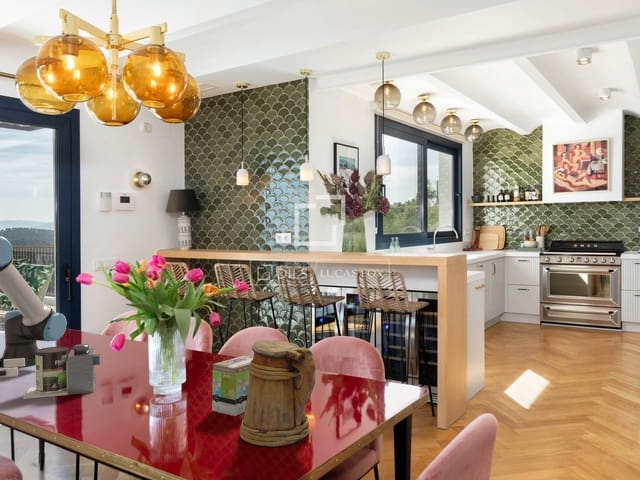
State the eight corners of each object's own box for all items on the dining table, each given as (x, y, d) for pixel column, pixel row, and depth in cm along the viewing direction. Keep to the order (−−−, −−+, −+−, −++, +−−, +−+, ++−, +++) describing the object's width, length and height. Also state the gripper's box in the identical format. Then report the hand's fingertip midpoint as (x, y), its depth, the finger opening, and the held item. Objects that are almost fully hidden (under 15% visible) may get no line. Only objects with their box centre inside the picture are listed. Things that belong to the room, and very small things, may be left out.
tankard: (270, 418, 158) (269, 334, 158) (336, 435, 145) (335, 342, 145) (226, 438, 144) (225, 344, 143) (295, 458, 130) (294, 355, 130)
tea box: (236, 417, 160) (236, 367, 160) (211, 411, 165) (211, 363, 165) (267, 403, 173) (267, 357, 172) (243, 398, 178) (242, 354, 178)
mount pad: (30, 389, 191) (30, 387, 191) (71, 385, 195) (71, 383, 195) (23, 399, 179) (23, 397, 179) (67, 394, 184) (67, 392, 184)
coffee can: (74, 386, 192) (74, 346, 191) (55, 394, 182) (54, 353, 181) (49, 384, 194) (48, 345, 194) (28, 393, 184) (27, 352, 183)
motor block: (70, 385, 195) (69, 343, 195) (101, 382, 198) (100, 341, 198) (66, 394, 184) (65, 349, 183) (99, 391, 187) (98, 347, 187)
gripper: (-41, 373, 189) (27, 368, 196) (-64, 394, 166) (14, 387, 173) (-41, 352, 189) (27, 348, 196) (-64, 369, 166) (14, 364, 173)
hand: (21, 366), depth 185 cm, fingers open, 13 cm apart
